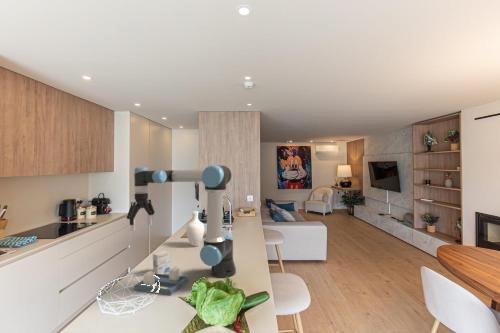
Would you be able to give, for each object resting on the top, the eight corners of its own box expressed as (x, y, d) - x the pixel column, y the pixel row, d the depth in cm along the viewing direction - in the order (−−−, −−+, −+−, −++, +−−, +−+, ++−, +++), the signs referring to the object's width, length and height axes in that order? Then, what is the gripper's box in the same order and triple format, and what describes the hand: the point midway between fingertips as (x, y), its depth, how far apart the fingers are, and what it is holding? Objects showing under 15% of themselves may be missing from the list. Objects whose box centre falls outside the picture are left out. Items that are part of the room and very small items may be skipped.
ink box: (165, 268, 155) (165, 250, 155) (170, 270, 152) (169, 251, 152) (152, 273, 149) (152, 253, 149) (157, 275, 145) (157, 255, 145)
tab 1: (154, 283, 132) (154, 270, 132) (149, 286, 128) (149, 273, 128) (148, 282, 133) (148, 270, 133) (143, 286, 129) (143, 273, 129)
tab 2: (179, 279, 137) (179, 266, 137) (175, 282, 133) (175, 269, 133) (173, 278, 138) (173, 266, 138) (168, 281, 134) (168, 269, 134)
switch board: (187, 281, 138) (187, 276, 138) (171, 295, 122) (171, 289, 122) (154, 276, 144) (154, 272, 144) (134, 289, 128) (134, 284, 128)
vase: (207, 246, 200) (207, 212, 200) (190, 249, 192) (190, 213, 192) (200, 242, 212) (200, 209, 212) (183, 245, 204) (183, 211, 204)
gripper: (150, 190, 162) (151, 223, 162) (119, 194, 139) (119, 232, 139) (160, 191, 160) (160, 223, 160) (129, 194, 136) (130, 233, 136)
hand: (141, 227), depth 149 cm, fingers open, 13 cm apart
